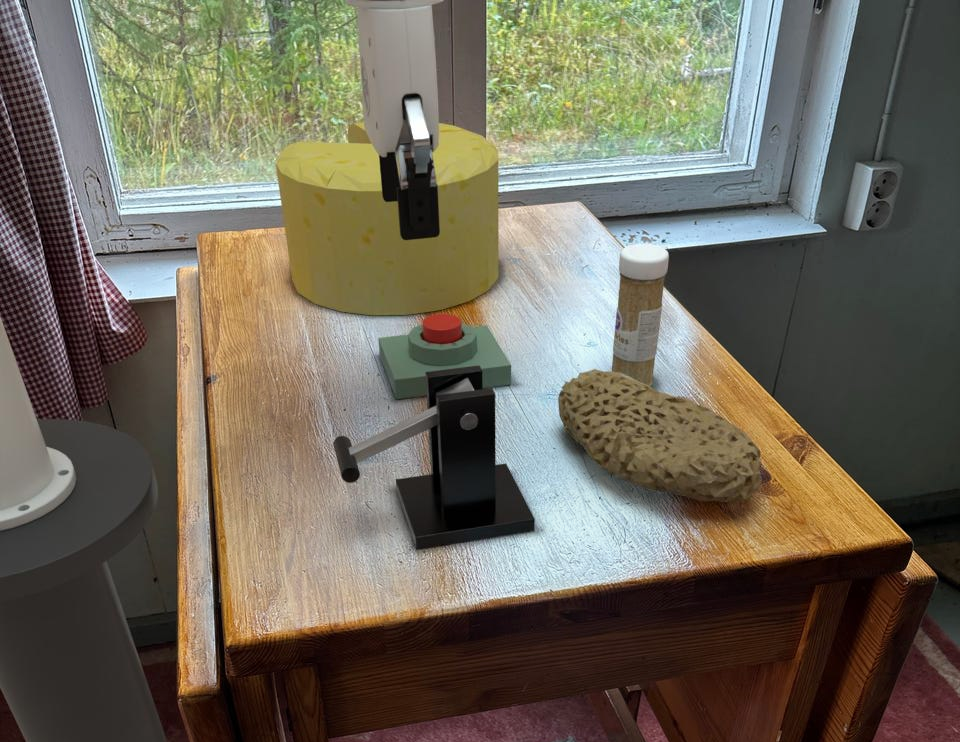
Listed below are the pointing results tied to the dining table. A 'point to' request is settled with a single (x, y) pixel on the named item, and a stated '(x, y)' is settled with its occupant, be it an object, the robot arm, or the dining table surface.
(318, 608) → the dining table surface
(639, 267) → the sprinkles bottle
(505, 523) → the bracket
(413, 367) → the button box
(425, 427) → the lever
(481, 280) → the cheese
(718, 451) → the sponge
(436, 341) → the button
